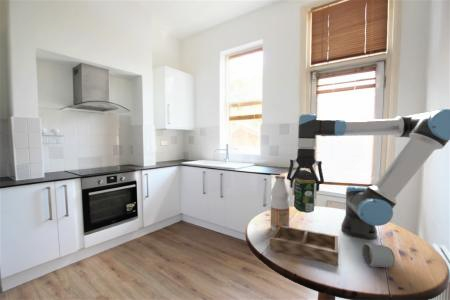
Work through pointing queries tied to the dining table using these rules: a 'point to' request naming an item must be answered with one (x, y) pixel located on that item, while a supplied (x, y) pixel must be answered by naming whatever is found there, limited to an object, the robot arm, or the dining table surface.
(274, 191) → the fruit juice
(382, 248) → the ceramic mug
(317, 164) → the robot arm
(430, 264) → the dining table surface
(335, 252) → the wooden divided tray
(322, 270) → the dining table surface
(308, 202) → the coffee jar
